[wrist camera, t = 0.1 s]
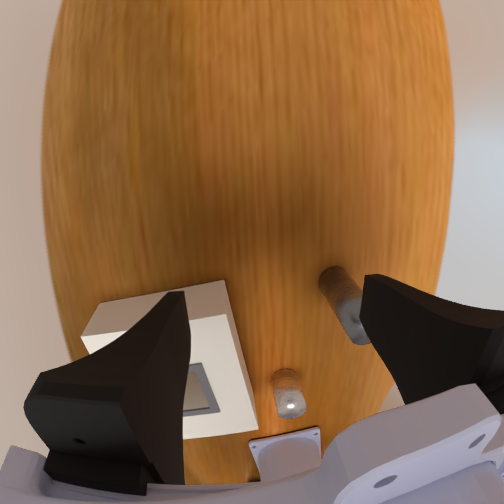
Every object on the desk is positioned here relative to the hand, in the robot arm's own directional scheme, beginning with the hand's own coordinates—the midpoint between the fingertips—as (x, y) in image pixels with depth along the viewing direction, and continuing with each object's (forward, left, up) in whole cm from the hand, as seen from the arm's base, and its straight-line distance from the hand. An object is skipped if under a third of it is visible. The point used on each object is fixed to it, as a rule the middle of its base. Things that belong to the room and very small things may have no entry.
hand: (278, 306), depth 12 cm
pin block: (-9, +8, -10) cm, 16 cm away
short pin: (-14, 0, -10) cm, 17 cm away
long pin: (-5, -5, -10) cm, 12 cm away
